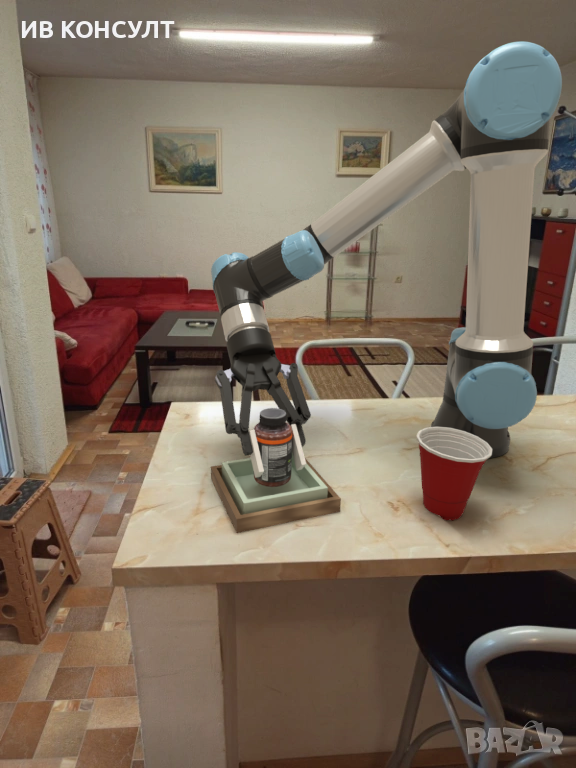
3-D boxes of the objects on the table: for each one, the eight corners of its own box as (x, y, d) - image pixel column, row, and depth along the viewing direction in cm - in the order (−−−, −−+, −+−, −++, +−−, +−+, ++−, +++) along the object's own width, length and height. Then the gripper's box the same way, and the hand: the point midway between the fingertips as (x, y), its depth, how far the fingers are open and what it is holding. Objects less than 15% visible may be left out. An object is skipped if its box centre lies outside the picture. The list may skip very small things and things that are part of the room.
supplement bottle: (252, 470, 83) (252, 405, 79) (289, 469, 83) (291, 404, 80) (253, 489, 77) (253, 420, 74) (293, 488, 78) (294, 419, 74)
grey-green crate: (295, 468, 89) (295, 450, 88) (326, 508, 78) (327, 487, 76) (222, 481, 85) (221, 462, 83) (244, 524, 73) (244, 503, 72)
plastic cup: (486, 536, 73) (499, 460, 69) (409, 525, 75) (417, 451, 71) (476, 496, 83) (487, 428, 79) (408, 488, 85) (415, 421, 81)
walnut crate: (299, 467, 91) (300, 452, 90) (339, 516, 77) (340, 498, 76) (211, 482, 86) (210, 466, 85) (236, 537, 72) (236, 519, 71)
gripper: (294, 345, 91) (330, 468, 82) (188, 353, 85) (214, 488, 76) (307, 321, 85) (347, 453, 76) (193, 329, 79) (222, 473, 70)
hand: (280, 470), depth 76 cm, fingers closed on supplement bottle, 6 cm apart
